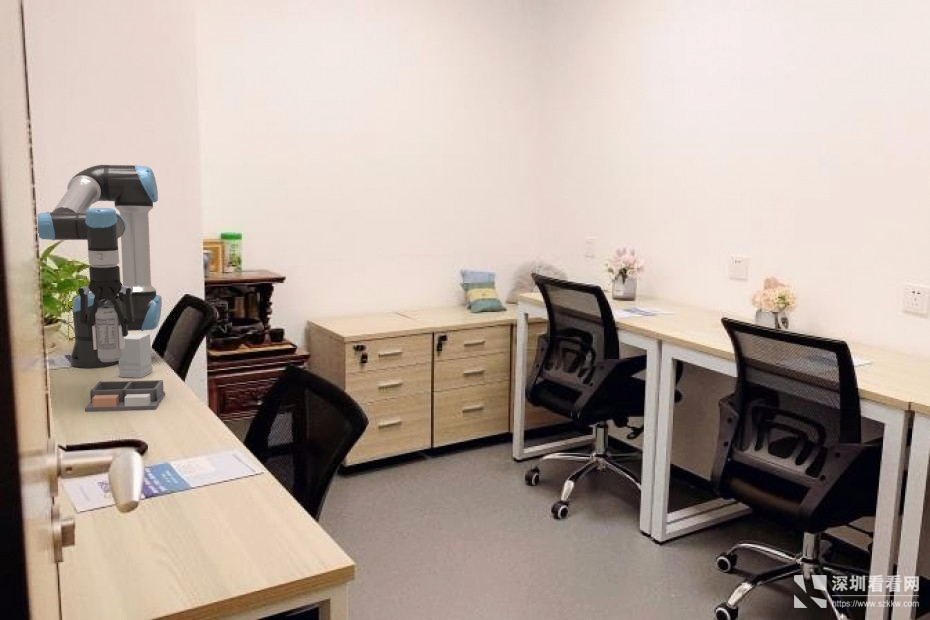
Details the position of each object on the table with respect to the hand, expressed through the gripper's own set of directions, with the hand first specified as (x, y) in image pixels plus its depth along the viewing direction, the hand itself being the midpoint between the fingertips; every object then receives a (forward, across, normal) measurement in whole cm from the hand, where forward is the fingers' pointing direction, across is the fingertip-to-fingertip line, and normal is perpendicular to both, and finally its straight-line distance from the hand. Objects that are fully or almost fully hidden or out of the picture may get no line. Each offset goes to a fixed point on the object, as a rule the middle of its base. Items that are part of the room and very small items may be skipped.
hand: (109, 347), depth 213 cm
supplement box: (+16, 0, +27) cm, 31 cm away
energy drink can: (+4, 0, 0) cm, 4 cm away
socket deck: (+15, +4, -2) cm, 16 cm away
